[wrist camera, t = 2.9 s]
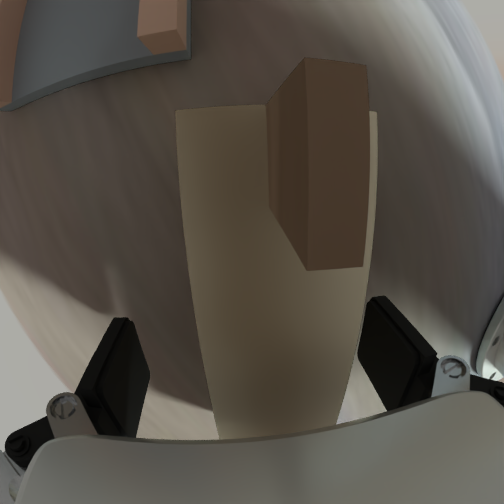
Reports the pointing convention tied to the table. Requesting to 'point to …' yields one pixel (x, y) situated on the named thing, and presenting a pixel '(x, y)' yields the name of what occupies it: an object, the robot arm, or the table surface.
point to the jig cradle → (84, 42)
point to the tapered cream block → (280, 245)
